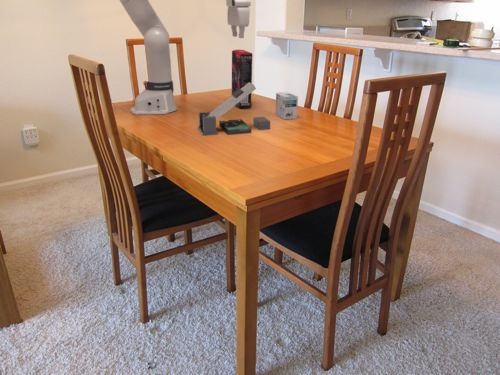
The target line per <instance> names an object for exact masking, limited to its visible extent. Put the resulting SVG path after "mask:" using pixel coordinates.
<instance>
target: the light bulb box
mask: <svg viewBox="0 0 500 375" xmlns="http://www.w3.org/2000/svg"><path fill="white" fill-rule="evenodd" d="M298 102H299V96H298V95H295V94H293V93H291V92H288V91H286V92H285V91H283V92H281V91H280V92H275V115H276V116H278V117H279V118H282V119H283V120H295V119H298V108H299V107H298V104H299V103H298Z"/></svg>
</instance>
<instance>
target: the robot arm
mask: <svg viewBox="0 0 500 375" xmlns="http://www.w3.org/2000/svg"><path fill="white" fill-rule="evenodd" d="M119 1H120V3H121V5H122V7H123V8H124V10H125V12H126V13H127V15H128V16H129V18H130V20H131V21H132V23H133V24H134V25H135V27H136V28H137V29H138V31H139V32H140V34H141V35H142V36H143V42H144V50H145V58H146V64H147V76H148V78H147V79H148V81H146V80H144V81H143V86H144V89H143V91H142V92H140V93H139V94H138V95H137V96H136V97H135V100H134V105H133V106H132V107H131V108H130V113H131V114H133V115H168V114H169V113H172V112H175V111H177V110H178V108H177V104H176V102H175V96H174V91H175V90H174V82H173V80H172V78H173V77H172V62H171V61H172V60H171V52H170V50H171V49H170V34H169V32H168V30H167V29H166V26H164V24H163V22H162V20H161V19H160V17H159V16H158V14H157V12H156V11H155V9H154V8H153V6H152V4H151V3H150V1H149V0H119ZM225 1H226V4H225V5H226V7H227V11H226V12H227V15H226V16H227V19H226V20H227V25H228V26H230V27H231V33H232V37H234V38H235V37H238V38H239V39H244V38H245V30H246V27H249V24H250V11H251V10H250V7H251V5H252V4H251V3H252V2H251V0H225ZM237 27H238V28H237ZM237 29H238V30H237Z"/></svg>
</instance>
